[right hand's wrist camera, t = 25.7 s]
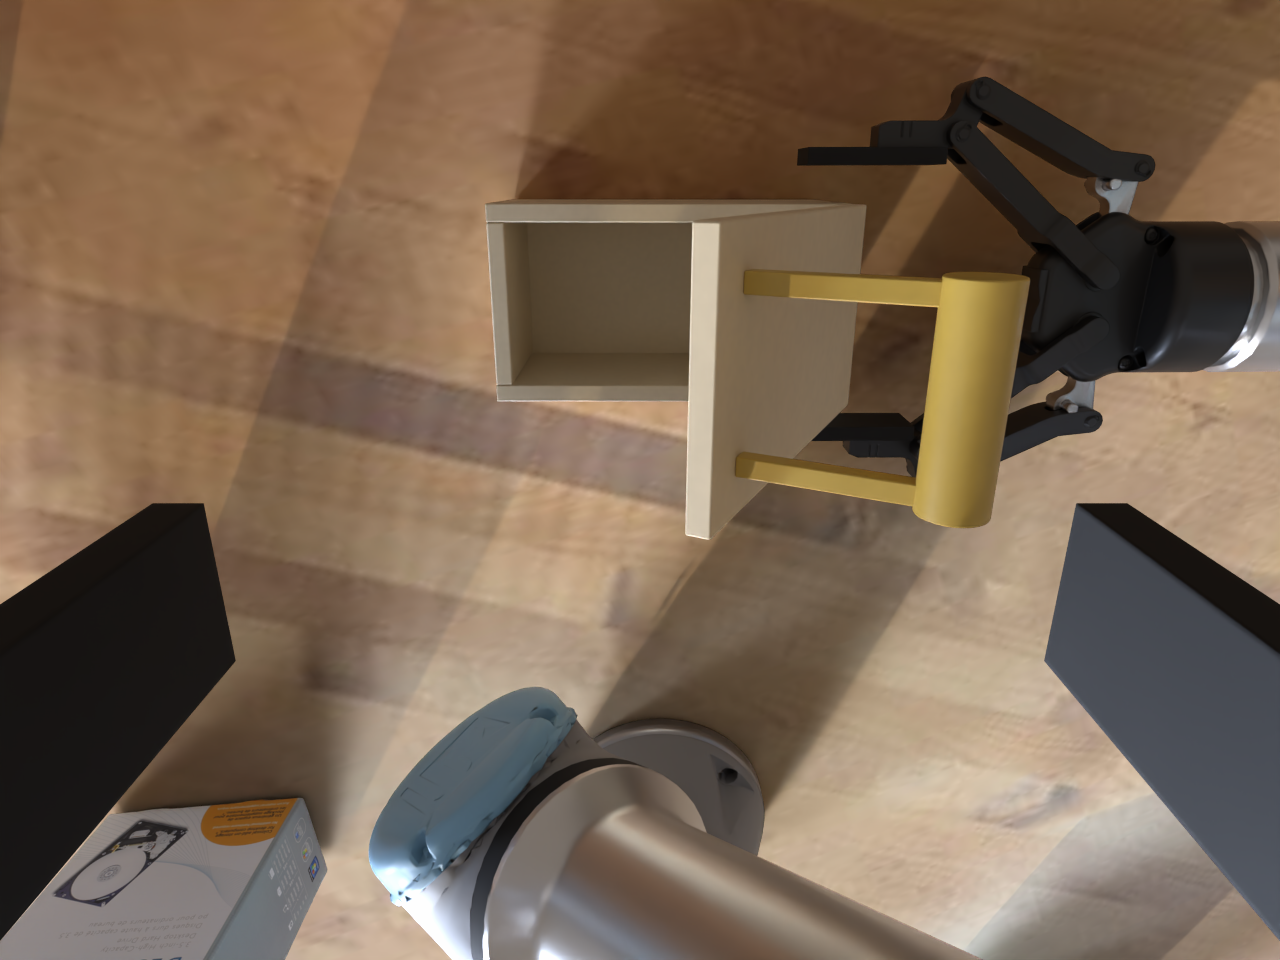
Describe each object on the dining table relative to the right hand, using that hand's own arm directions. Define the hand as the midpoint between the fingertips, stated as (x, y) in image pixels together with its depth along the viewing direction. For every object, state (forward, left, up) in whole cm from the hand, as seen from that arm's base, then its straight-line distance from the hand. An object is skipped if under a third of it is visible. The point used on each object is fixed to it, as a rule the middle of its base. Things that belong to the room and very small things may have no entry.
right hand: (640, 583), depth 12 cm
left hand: (+4, -7, -31) cm, 32 cm away
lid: (+3, -5, -20) cm, 21 cm away
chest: (+1, -1, -37) cm, 37 cm away
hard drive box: (-52, +6, -37) cm, 65 cm away
